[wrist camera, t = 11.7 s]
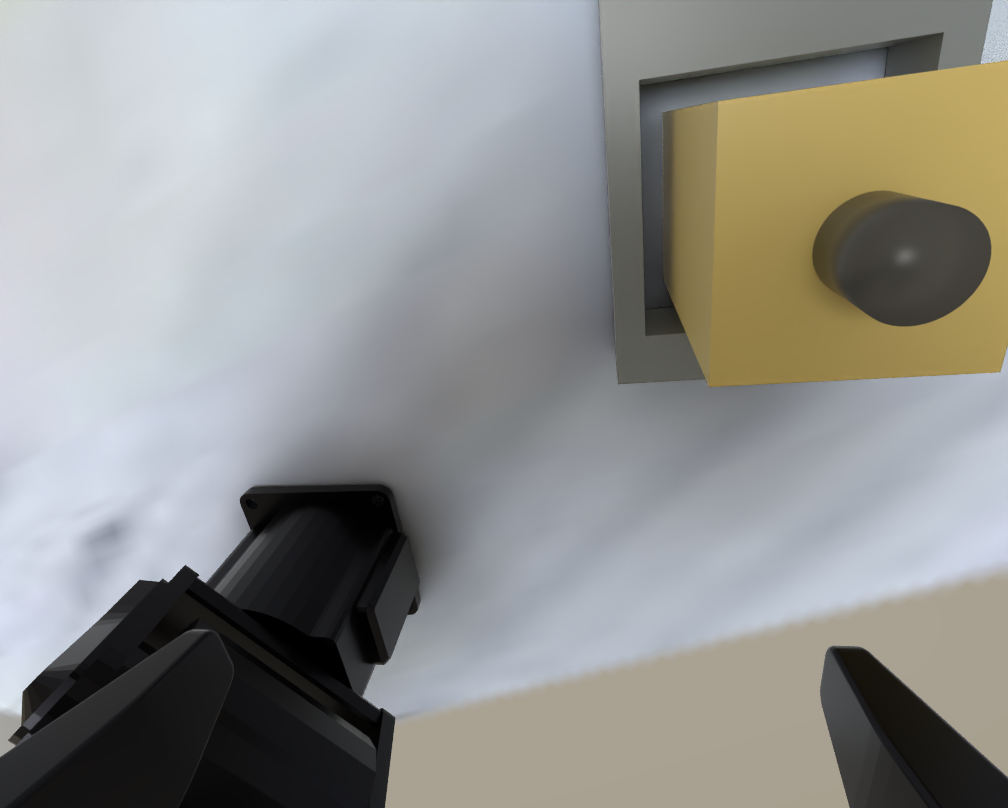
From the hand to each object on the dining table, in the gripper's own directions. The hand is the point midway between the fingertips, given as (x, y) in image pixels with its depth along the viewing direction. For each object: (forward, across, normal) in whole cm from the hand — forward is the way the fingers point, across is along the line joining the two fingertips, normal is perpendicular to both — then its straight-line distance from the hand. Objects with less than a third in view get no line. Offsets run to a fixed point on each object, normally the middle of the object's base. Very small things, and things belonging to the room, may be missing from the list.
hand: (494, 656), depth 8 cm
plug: (+12, -6, -4) cm, 14 cm away
